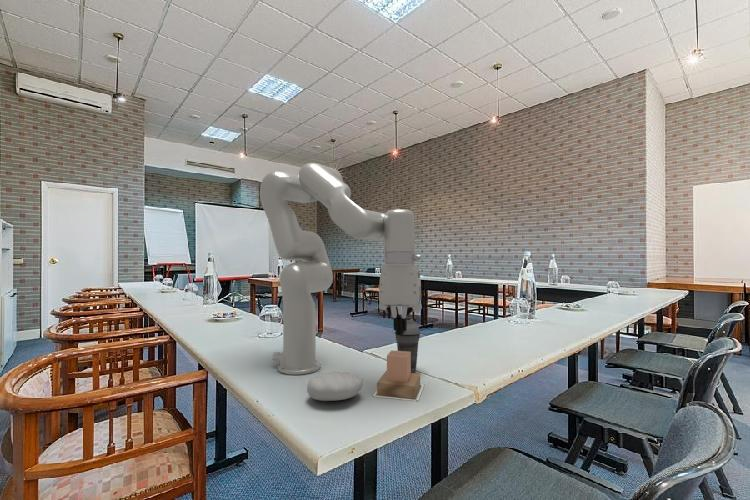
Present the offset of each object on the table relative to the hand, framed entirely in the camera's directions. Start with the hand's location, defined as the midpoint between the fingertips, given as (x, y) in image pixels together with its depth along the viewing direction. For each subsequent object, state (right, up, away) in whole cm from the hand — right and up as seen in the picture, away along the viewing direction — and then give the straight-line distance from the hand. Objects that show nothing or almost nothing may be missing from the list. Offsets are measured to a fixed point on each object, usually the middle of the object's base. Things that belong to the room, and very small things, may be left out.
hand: (400, 333), depth 88 cm
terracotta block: (0, -11, 0) cm, 11 cm away
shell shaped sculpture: (-15, -15, -5) cm, 22 cm away
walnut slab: (0, -14, 0) cm, 14 cm away
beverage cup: (+3, -15, +14) cm, 20 cm away
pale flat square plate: (0, -14, 0) cm, 14 cm away
